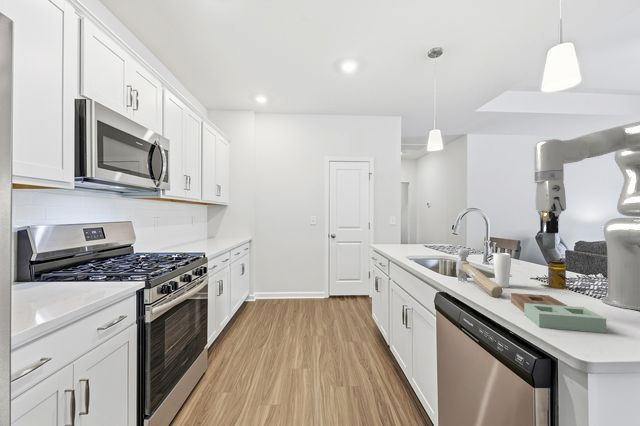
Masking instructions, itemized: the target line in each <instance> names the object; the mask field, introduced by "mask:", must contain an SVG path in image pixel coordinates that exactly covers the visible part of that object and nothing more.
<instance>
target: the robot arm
mask: <svg viewBox="0 0 640 426" xmlns="http://www.w3.org/2000/svg"><path fill="white" fill-rule="evenodd" d="M533 149H534V153H533V154H534V155H533V156H534V158H533V159H534V163H533V164H534V183H535V184H536V186H535V187H536V189H535V210H536V211H537V213H538V215H539V220H540V221H539V225H540V228H539V230H540V231H539V232H540V233H543V212H547V221H546V233H555V234H559V221H560V216H561V214H562V212H565V210H567V199H566V188H565V183H564V180H565V179H564V178H565V175H564V165H566V164H574V163H577V162H582V161H583V160H586V159H590V158H596V157H600V156H604V155H607V154H611V153H614V161H615V164H616V165H617V167H618V168H619V170H620V171H621V173H622V175H623V184H622V185H623V186H622V188H621V191H620V194H619V198H618V200H617V205H616V210H617V212H618V213H619V214H621V215H622V216H626V217H618V218H612V219H609V220H607V221H606V222H605V223H604V225H603V228H602V229H603V231H602V232H603V236H604V239H605V244H606V251H607V252H606V253H607V254H606V255H607V258H606V259H607V260H606V261H607V296H603V297H601V302H602V303H604V304H607V305H609V306H610V305H611V306H613V307H616V308H623V309H628V310H636V311H637V310H638V311H640V121H635V122H631V123H628V124H623V125H618V126H615V127H609V128H607V129H603V130H599V131H594V132H591V133H587V134H584V135H581V136H577V137H575V138H571V139H567V140H563V139H562V140H561V139H558V138H556V139H555V138H553V139H551V138H550V139H545V140H541V141H538V142H537V143H535V145H534V148H533ZM550 213H552V214H551V215H550Z"/></svg>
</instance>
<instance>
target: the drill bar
mask: <svg viewBox="0 0 640 426" xmlns="http://www.w3.org/2000/svg"><path fill="white" fill-rule="evenodd" d="M551 214H552V213H550V215H551ZM546 221H547V212H543V232H542V248H543V249H553V250H554V249H556V233H546Z"/></svg>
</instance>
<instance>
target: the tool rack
mask: <svg viewBox="0 0 640 426" xmlns="http://www.w3.org/2000/svg"><path fill="white" fill-rule="evenodd" d="M523 313H524V314H523V315H524V316H525V317H526V318H527V319H529V321H531V322H533V324H535V325H536V326H537V327H538V328H542V329H543V328H544V329H545V328H546V329H557V330H567V331H580V332H589V333H602V334H607V318H606V317H603V316H602V315H600V314H598V313H596V312H594V311H591V309H590V310H589V309H588V308H587V307H586V308H585V307H584V306H575V305H574V306H571V305H567V306H559V305H545V304H531V303H524V312H523Z"/></svg>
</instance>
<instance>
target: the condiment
mask: <svg viewBox="0 0 640 426" xmlns="http://www.w3.org/2000/svg"><path fill="white" fill-rule="evenodd" d="M548 263H549V264H548V267H547V272H548V273H547V274H548V275H547V278H548V280H547V282H548V283H547V284H543V283H542V284H541V283H540V286H542V287H543V288H544V289H551V290H562V291H570V289H568V288H567V285H566V284H567V282H566V281H567V272H566V271H567V269H566V267H565V264H566V263H565V261H563V260H554V259H553V260H549V262H548ZM566 288H567V289H566Z"/></svg>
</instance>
